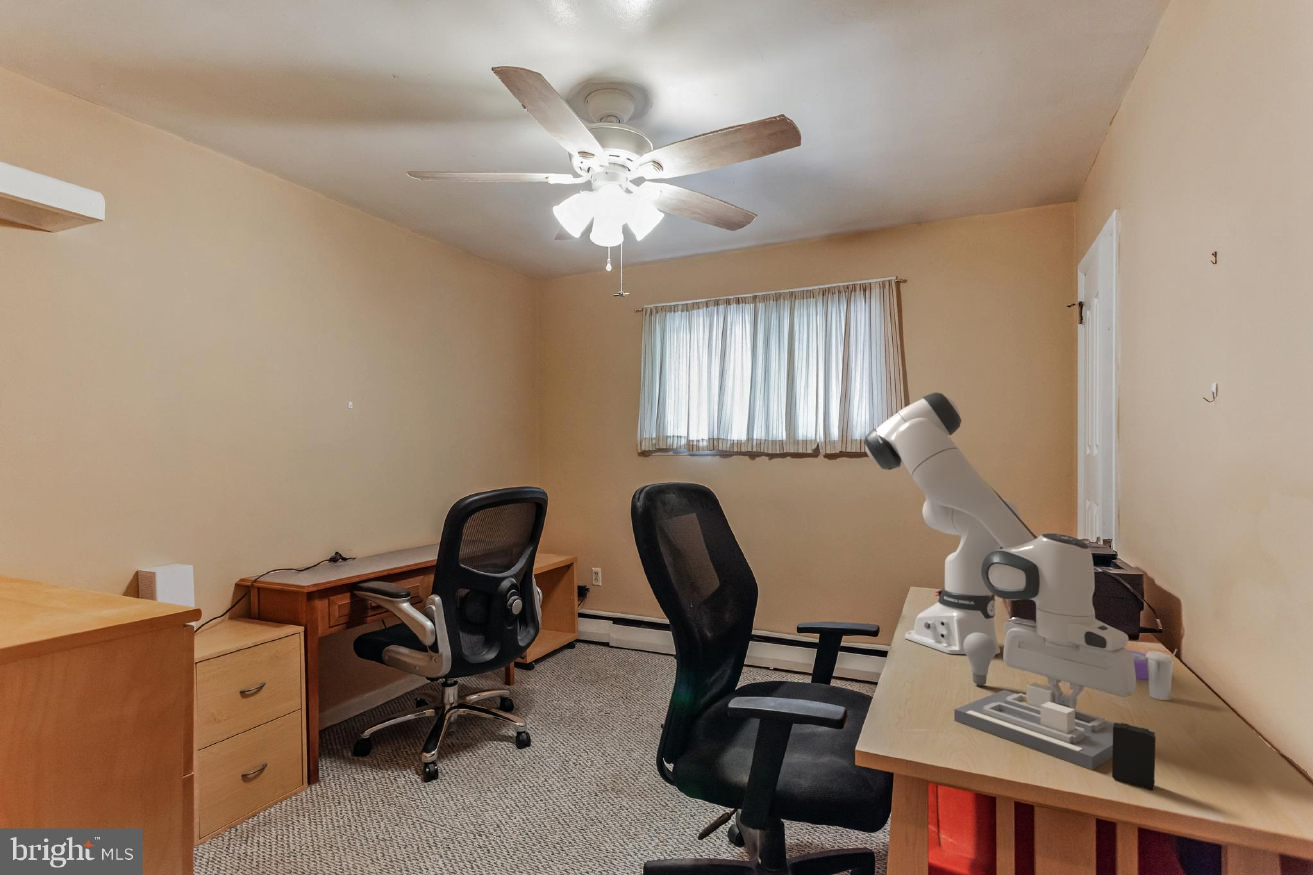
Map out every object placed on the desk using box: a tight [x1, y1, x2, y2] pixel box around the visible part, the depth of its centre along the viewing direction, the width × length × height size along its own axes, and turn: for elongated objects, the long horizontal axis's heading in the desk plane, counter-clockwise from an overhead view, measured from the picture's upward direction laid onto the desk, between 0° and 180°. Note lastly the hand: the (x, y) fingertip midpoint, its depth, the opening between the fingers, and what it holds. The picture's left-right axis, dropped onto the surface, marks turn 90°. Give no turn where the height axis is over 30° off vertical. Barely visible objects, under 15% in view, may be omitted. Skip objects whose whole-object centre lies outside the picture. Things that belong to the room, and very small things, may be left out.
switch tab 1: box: [1026, 682, 1055, 709], centre depth 115 cm, size 4×3×4 cm
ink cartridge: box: [1111, 722, 1157, 791], centre depth 94 cm, size 5×2×8 cm, turn 50°
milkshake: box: [1145, 648, 1178, 701], centre depth 129 cm, size 4×5×10 cm
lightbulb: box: [963, 633, 996, 687], centre depth 134 cm, size 6×6×11 cm
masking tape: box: [1127, 649, 1148, 680], centre depth 146 cm, size 12×12×4 cm
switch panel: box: [953, 689, 1114, 771], centre depth 112 cm, size 22×18×3 cm
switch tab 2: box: [1041, 702, 1076, 734], centre depth 106 cm, size 4×3×4 cm
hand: (1065, 705), depth 113 cm, fingers closed
